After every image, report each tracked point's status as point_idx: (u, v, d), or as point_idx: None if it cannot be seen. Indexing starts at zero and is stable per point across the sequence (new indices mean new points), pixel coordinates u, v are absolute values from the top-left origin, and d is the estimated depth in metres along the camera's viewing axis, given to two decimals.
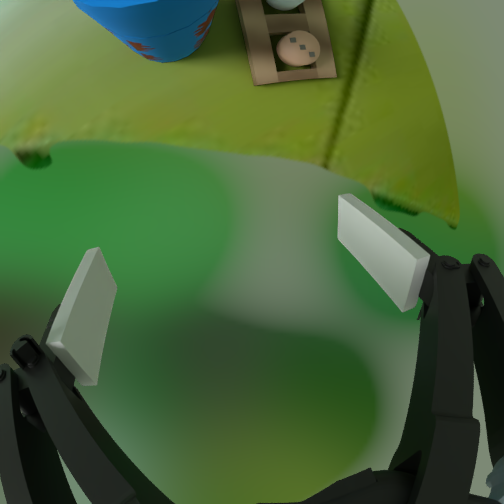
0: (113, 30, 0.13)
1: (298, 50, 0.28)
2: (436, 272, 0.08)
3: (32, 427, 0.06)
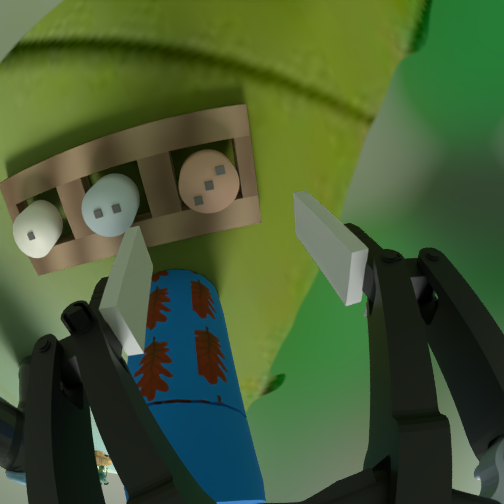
0: None
1: (215, 191, 0.23)
2: (376, 268, 0.09)
3: (70, 404, 0.07)
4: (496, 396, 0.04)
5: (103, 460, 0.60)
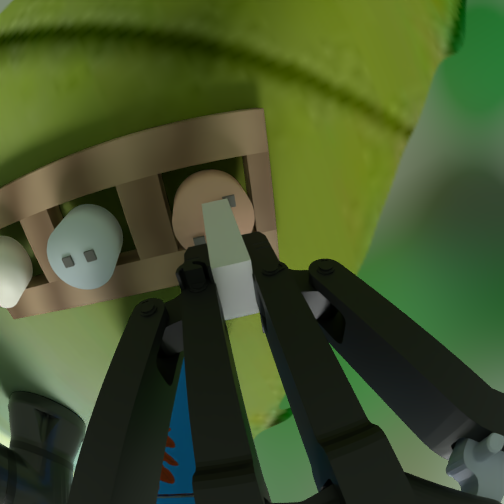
0: None
1: None
2: (258, 285, 0.09)
3: (160, 378, 0.08)
4: (444, 406, 0.05)
5: None
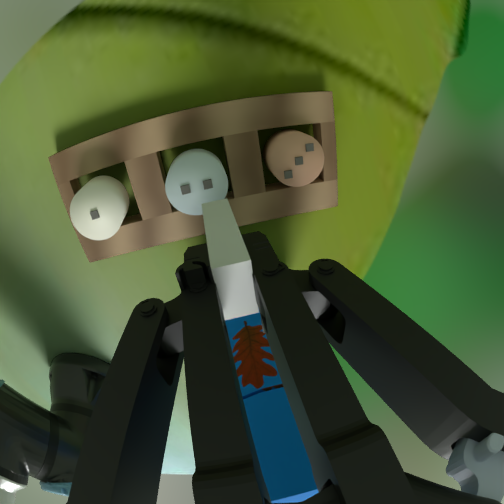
0: None
1: (304, 166, 0.24)
2: (258, 285, 0.09)
3: (160, 378, 0.08)
4: (444, 406, 0.05)
5: None
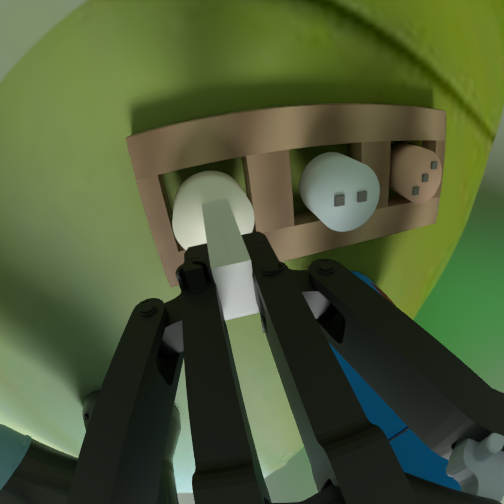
0: None
1: (427, 183, 0.20)
2: (258, 285, 0.09)
3: (160, 378, 0.08)
4: (444, 406, 0.05)
5: None
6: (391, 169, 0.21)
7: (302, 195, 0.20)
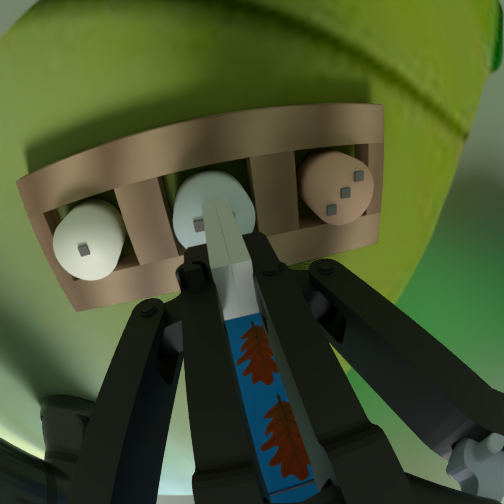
0: None
1: (350, 199, 0.19)
2: (259, 285, 0.09)
3: (160, 378, 0.08)
4: (444, 406, 0.05)
5: None
6: (301, 184, 0.19)
7: None
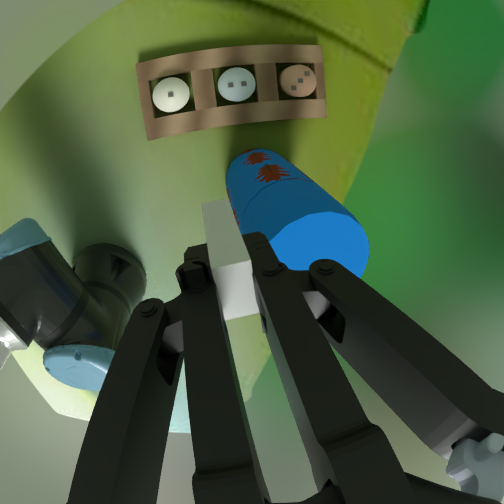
0: None
1: (303, 84, 0.34)
2: (258, 285, 0.09)
3: (160, 378, 0.08)
4: (444, 406, 0.05)
5: None
6: (279, 79, 0.35)
7: None
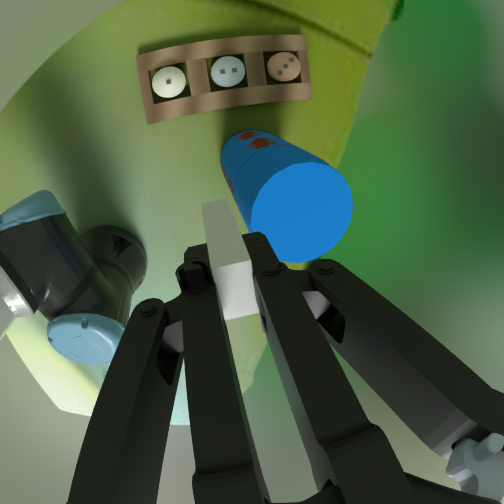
0: None
1: (288, 69, 0.37)
2: (258, 285, 0.09)
3: (160, 378, 0.08)
4: (444, 406, 0.05)
5: None
6: (267, 66, 0.37)
7: (211, 77, 0.37)
